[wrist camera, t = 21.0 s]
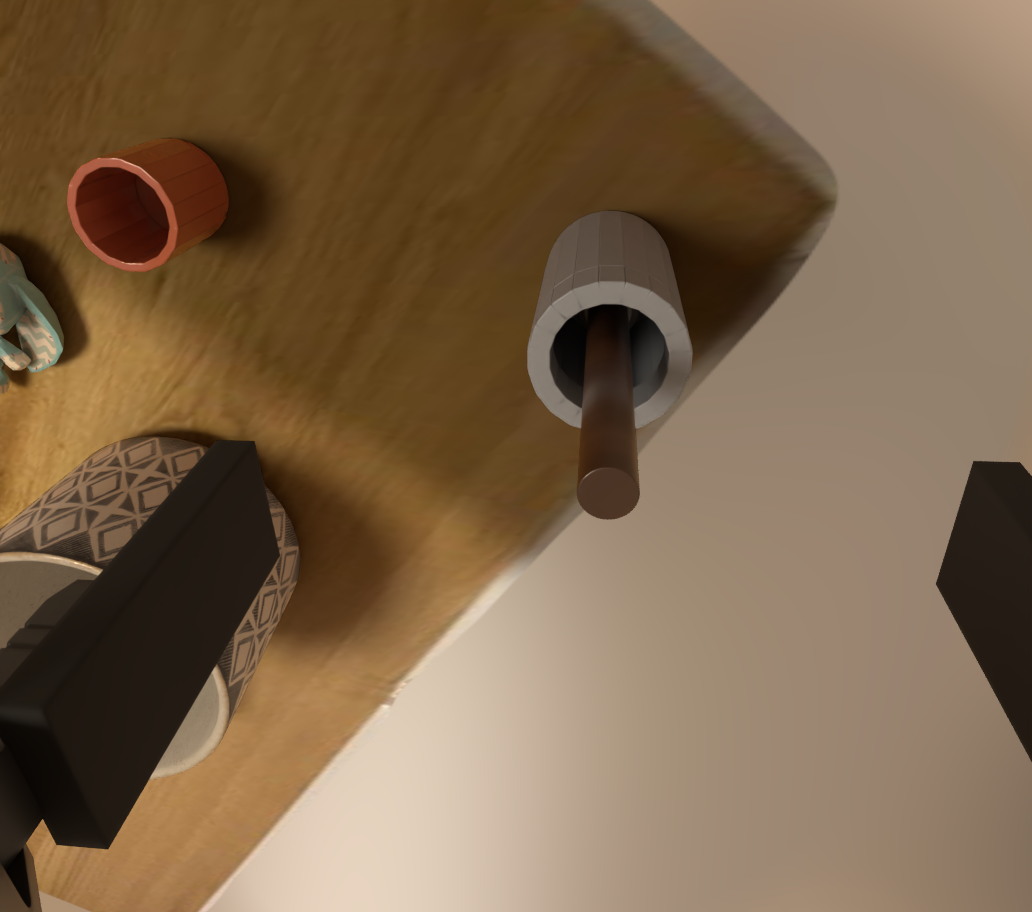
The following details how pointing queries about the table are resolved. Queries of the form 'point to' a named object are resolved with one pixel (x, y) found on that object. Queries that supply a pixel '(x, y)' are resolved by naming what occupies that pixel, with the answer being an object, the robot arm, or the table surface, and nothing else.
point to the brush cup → (147, 203)
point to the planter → (97, 540)
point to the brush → (608, 415)
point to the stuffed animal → (25, 321)
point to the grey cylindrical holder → (609, 280)
